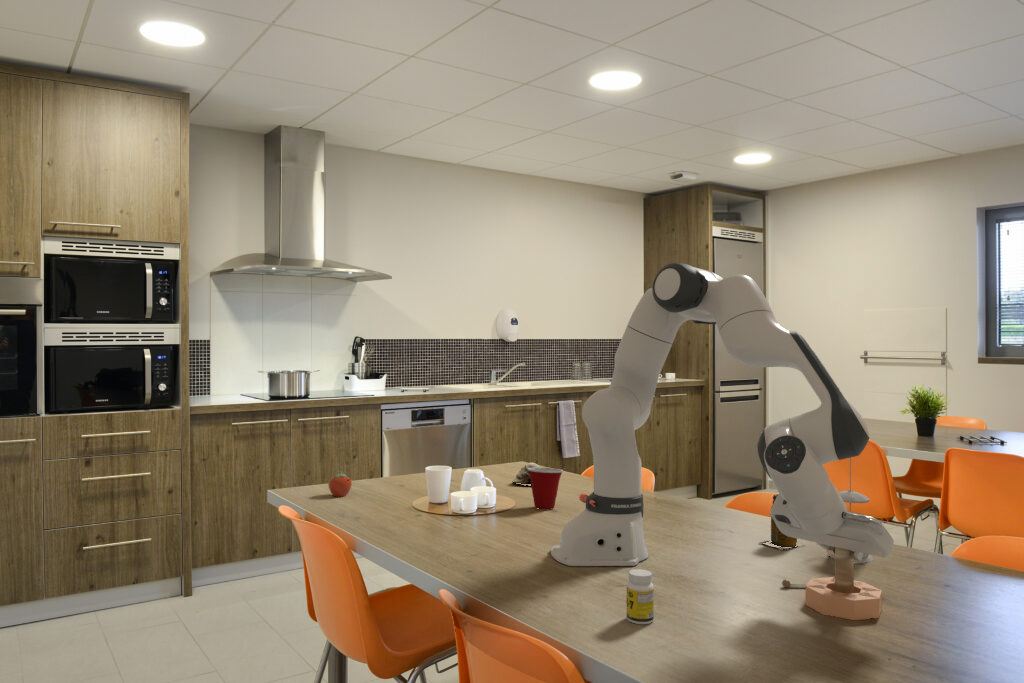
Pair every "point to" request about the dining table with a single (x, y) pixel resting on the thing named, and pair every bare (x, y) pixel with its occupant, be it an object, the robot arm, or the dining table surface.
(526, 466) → the grey rounded lump
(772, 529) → the condiment
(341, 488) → the tomato
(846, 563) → the needle dowel
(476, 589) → the dining table surface
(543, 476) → the plastic cup
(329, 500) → the dining table surface
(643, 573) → the supplement bottle
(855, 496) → the french press
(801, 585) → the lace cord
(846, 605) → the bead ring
